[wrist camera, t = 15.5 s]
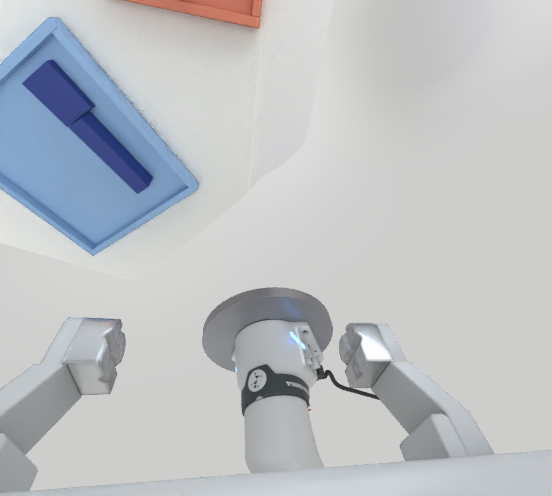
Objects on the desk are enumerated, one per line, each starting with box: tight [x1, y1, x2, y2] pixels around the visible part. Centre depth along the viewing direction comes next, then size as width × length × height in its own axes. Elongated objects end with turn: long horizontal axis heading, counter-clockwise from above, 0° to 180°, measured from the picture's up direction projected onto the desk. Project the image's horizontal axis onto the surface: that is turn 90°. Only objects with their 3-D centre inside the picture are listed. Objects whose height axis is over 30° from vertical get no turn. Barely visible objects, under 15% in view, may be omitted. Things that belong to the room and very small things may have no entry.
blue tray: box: [0, 17, 199, 256], centre depth 34 cm, size 20×19×2 cm
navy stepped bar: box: [22, 60, 153, 194], centre depth 31 cm, size 14×4×3 cm, turn 30°
